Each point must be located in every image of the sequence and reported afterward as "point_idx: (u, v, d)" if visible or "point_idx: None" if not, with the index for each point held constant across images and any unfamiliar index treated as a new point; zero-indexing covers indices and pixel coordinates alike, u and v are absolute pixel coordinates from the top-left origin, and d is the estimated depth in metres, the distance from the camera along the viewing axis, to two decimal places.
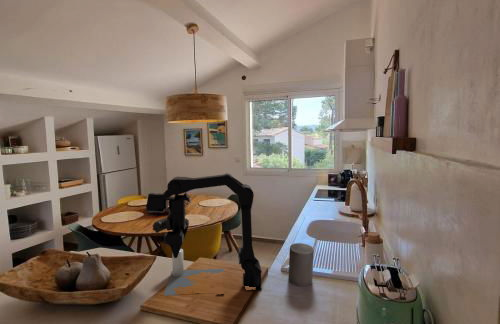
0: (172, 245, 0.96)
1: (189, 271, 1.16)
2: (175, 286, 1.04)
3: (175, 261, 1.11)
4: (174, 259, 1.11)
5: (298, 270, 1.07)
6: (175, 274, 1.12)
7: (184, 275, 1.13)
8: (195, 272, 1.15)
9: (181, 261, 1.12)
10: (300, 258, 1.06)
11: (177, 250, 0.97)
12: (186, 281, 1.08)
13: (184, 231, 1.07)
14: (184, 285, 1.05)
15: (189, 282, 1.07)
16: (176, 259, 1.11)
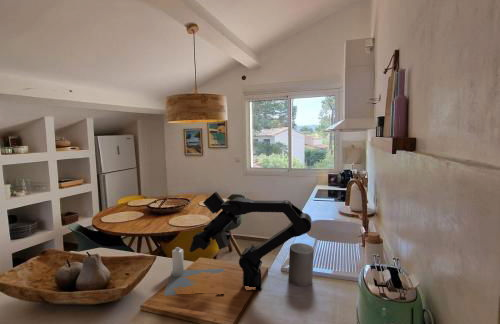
0: None
1: (189, 271, 1.16)
2: (175, 286, 1.04)
3: (175, 261, 1.11)
4: (174, 259, 1.11)
5: (298, 270, 1.07)
6: (175, 274, 1.12)
7: (184, 275, 1.13)
8: (195, 272, 1.15)
9: (181, 261, 1.12)
10: (300, 258, 1.06)
11: None
12: (186, 281, 1.08)
13: None
14: (184, 285, 1.05)
15: (189, 282, 1.07)
16: (176, 259, 1.11)
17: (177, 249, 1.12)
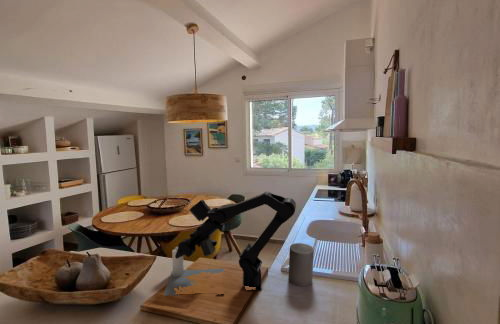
0: None
1: (189, 271, 1.16)
2: (175, 286, 1.04)
3: (175, 261, 1.11)
4: (174, 259, 1.11)
5: (298, 270, 1.07)
6: (175, 274, 1.12)
7: (184, 275, 1.13)
8: (195, 272, 1.15)
9: (181, 261, 1.12)
10: (300, 258, 1.06)
11: None
12: (186, 281, 1.08)
13: None
14: (184, 285, 1.05)
15: (189, 282, 1.07)
16: (176, 259, 1.11)
17: (177, 249, 1.12)
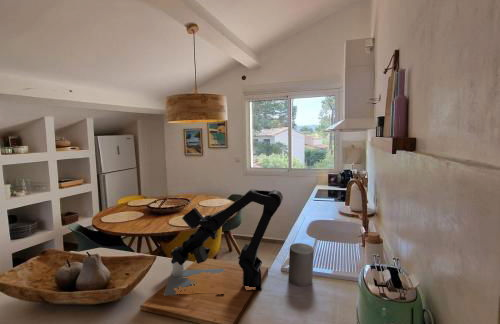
0: None
1: (189, 271, 1.16)
2: (175, 286, 1.04)
3: None
4: None
5: (298, 270, 1.07)
6: (175, 274, 1.12)
7: (184, 275, 1.13)
8: (195, 272, 1.15)
9: None
10: (300, 258, 1.06)
11: None
12: (186, 281, 1.08)
13: None
14: (184, 285, 1.05)
15: (189, 282, 1.07)
16: None
17: None
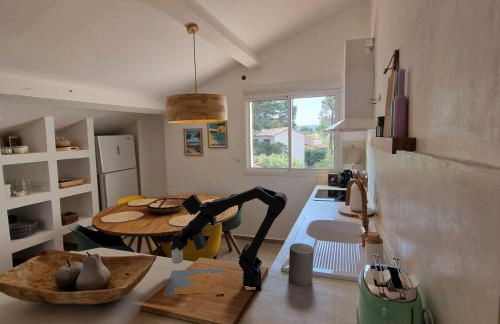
0: None
1: (189, 271, 1.16)
2: (175, 286, 1.04)
3: None
4: None
5: (298, 270, 1.07)
6: (174, 261, 1.11)
7: (184, 275, 1.13)
8: (195, 272, 1.15)
9: None
10: (300, 258, 1.06)
11: None
12: (186, 281, 1.08)
13: None
14: (184, 285, 1.05)
15: (189, 282, 1.07)
16: None
17: None
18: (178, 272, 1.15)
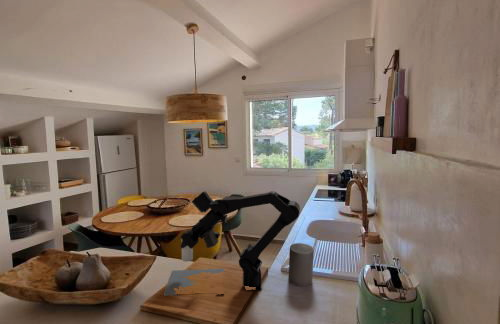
0: None
1: (189, 271, 1.16)
2: (175, 286, 1.04)
3: None
4: None
5: (298, 270, 1.07)
6: (184, 259, 1.10)
7: (184, 275, 1.13)
8: (195, 272, 1.15)
9: None
10: (300, 258, 1.06)
11: None
12: (186, 281, 1.08)
13: None
14: (184, 285, 1.05)
15: (189, 282, 1.07)
16: None
17: None
18: (178, 272, 1.15)
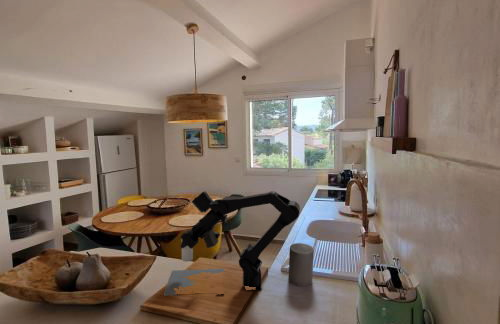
0: None
1: (189, 271, 1.16)
2: (175, 286, 1.04)
3: None
4: None
5: (298, 270, 1.07)
6: (184, 259, 1.10)
7: (184, 275, 1.13)
8: (195, 272, 1.15)
9: None
10: (300, 258, 1.06)
11: None
12: (186, 281, 1.08)
13: None
14: (184, 285, 1.05)
15: (189, 282, 1.07)
16: None
17: None
18: (178, 272, 1.15)
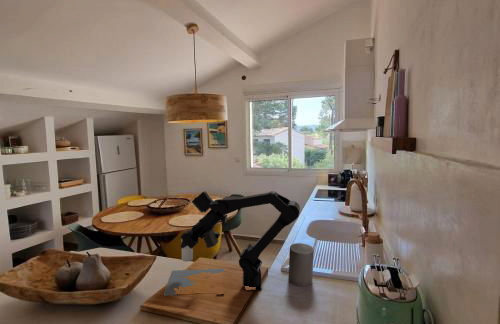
0: None
1: (189, 271, 1.16)
2: (175, 286, 1.04)
3: None
4: None
5: (298, 270, 1.07)
6: (184, 259, 1.10)
7: (184, 275, 1.13)
8: (195, 272, 1.15)
9: None
10: (300, 258, 1.06)
11: None
12: (186, 281, 1.08)
13: None
14: (184, 285, 1.05)
15: (189, 282, 1.07)
16: None
17: None
18: (178, 272, 1.15)
